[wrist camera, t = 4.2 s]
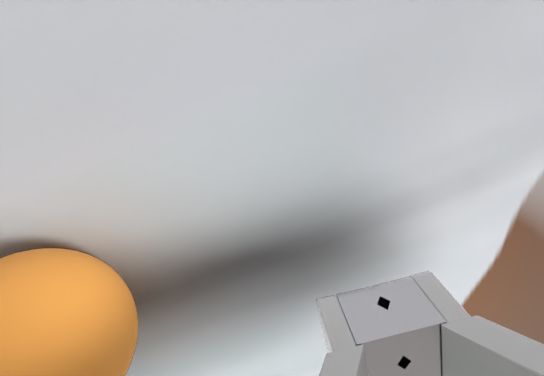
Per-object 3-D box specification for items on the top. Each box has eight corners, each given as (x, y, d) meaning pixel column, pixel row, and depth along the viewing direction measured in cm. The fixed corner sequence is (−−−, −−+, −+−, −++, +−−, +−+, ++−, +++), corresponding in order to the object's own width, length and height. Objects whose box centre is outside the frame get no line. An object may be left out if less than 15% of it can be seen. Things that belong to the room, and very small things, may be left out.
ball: (-35, 239, 11) (-247, 392, 6) (119, 200, 11) (30, 321, 6) (45, 349, 14) (-65, 525, 9) (174, 315, 14) (140, 472, 9)
